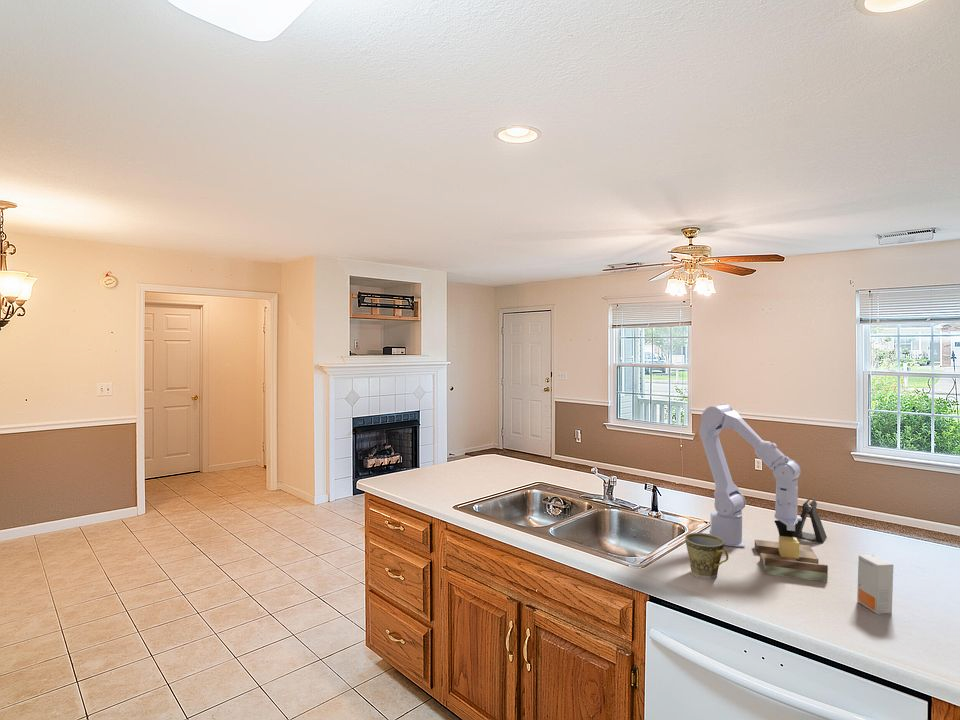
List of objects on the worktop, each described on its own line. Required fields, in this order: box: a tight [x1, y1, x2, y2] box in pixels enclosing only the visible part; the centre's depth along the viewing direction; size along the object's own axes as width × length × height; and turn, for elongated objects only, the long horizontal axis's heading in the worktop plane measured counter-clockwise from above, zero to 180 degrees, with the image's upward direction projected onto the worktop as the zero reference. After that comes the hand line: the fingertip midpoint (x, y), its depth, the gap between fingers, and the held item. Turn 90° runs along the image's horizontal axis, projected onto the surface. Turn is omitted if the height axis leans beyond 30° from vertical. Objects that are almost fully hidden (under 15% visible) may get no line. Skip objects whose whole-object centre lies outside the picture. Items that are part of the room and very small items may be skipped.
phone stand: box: [793, 498, 828, 544], centre depth 176 cm, size 9×6×12 cm, turn 47°
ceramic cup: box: [684, 532, 729, 581], centre depth 147 cm, size 13×10×10 cm
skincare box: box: [856, 554, 894, 615], centre depth 130 cm, size 6×4×12 cm
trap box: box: [754, 539, 829, 583], centre depth 156 cm, size 15×20×4 cm
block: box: [778, 535, 801, 559], centre depth 156 cm, size 4×4×4 cm
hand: (785, 546), depth 160 cm, fingers closed
